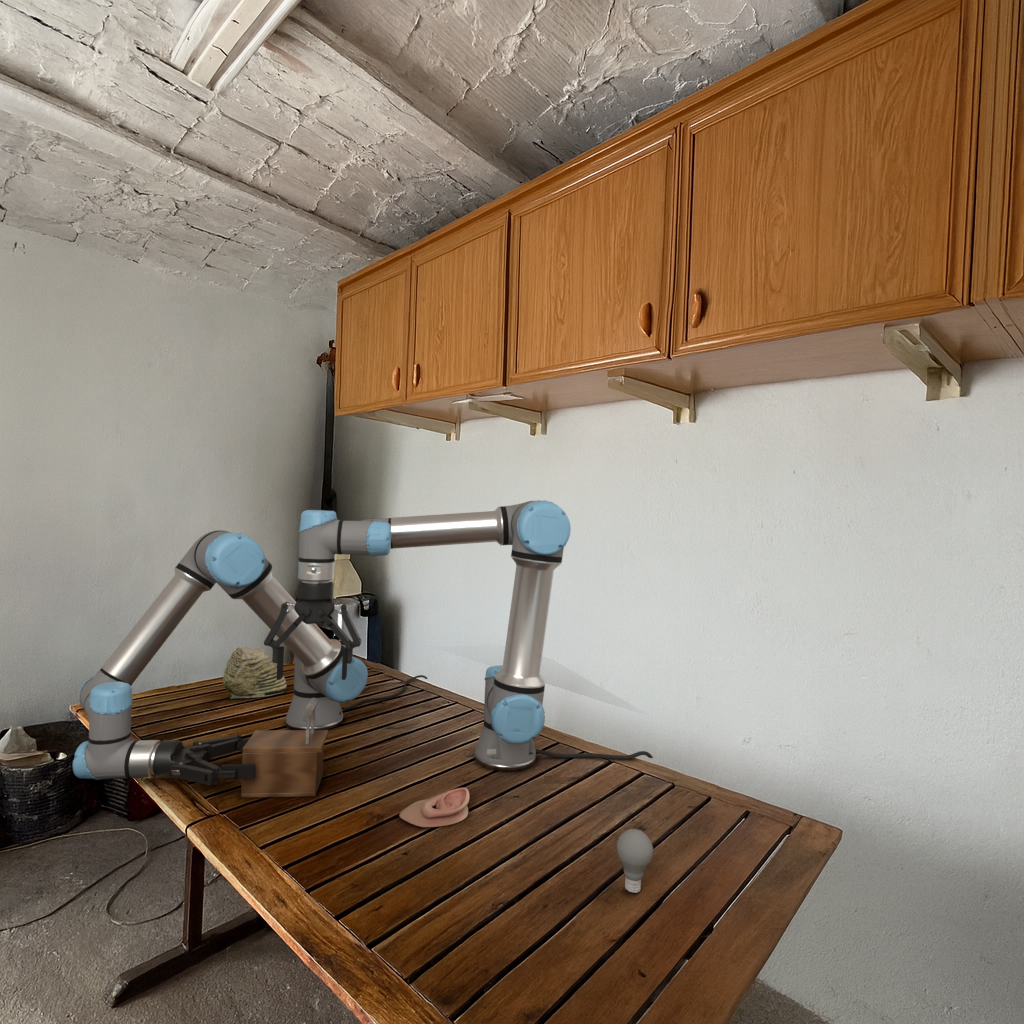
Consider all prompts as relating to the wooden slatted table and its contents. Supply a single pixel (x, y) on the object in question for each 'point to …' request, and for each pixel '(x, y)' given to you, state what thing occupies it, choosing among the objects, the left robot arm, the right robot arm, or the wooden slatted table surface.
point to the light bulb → (634, 857)
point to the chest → (283, 774)
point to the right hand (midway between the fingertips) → (312, 678)
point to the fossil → (252, 674)
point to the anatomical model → (438, 809)
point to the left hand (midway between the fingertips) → (263, 757)
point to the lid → (289, 737)
